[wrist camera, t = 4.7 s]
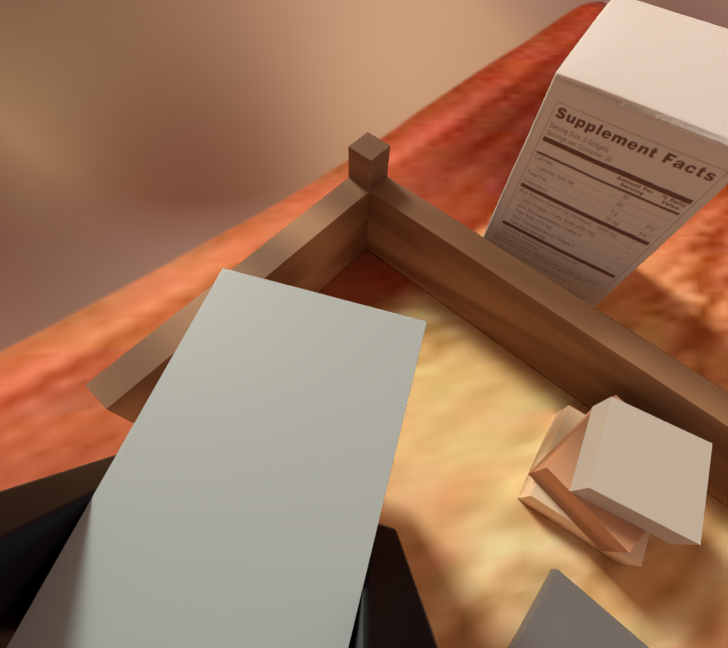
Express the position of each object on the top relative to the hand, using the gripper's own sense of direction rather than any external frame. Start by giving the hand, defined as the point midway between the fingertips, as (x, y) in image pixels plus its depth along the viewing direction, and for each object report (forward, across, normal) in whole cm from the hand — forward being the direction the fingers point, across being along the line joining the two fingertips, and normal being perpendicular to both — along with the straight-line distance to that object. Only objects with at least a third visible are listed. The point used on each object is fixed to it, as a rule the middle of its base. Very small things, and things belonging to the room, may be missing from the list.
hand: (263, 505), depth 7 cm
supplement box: (+22, -9, -4) cm, 25 cm away
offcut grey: (+11, -12, +2) cm, 16 cm away
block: (+8, 0, +7) cm, 10 cm away
